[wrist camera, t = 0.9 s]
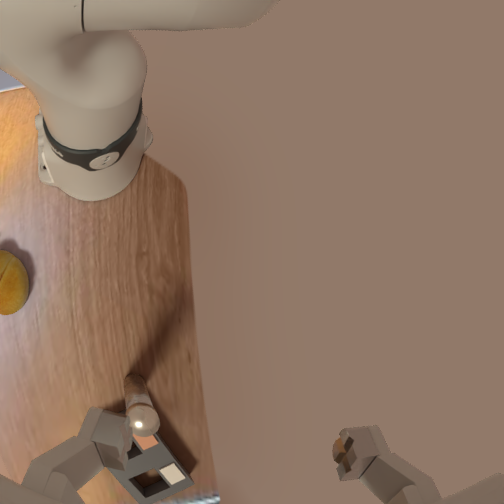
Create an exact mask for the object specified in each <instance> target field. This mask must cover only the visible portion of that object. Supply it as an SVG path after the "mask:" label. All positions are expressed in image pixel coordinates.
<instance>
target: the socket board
mask: <svg viewBox="0 0 504 504" xmlns="http://www.w3.org/2000/svg"><path fill="white" fill-rule="evenodd" d="M119 414H124V415H125V414H126V410H123V411H121V412H119ZM133 441H134V443H135V444H136V445H137V446H136V447H134V448H132V449H131V450H129V451H128V452H127V455H128V462H127V466H126V470H125V471H121V470H116V469H112V468H108V467H107V468H108V469H109V471H110V472H111V473H112V474H113V475H114V477H115V478H116V479H117V480H118V481H119V482H120V483H121V485H122V486H123V487H124V488H125V489H126V490H127V491H128V492H129V493H130V494H131V495H132V496H133V497H134V499H135V500H136V501H137V502H138V503H139V504H152V503H155V502H157V501H159V500H162V499H164V498H166V497H168V496H171V495H173V494H175V493H177V492H179V491H181V490H184V489H186V488H188V487H190V486H192V485H194V482H193V480H192V478H191V476H190V474H189V473H188V472H187V471H186V469H185V468H184V467H183V466H182V464H181V463H180V462H179V460H178V459H177V458H176V457H175V455H174V454H173V453H172V451H171V450H170V448H169V447H168V446H167V444H166V443H165V442H164V440H163V439H162V437H161V436H160V435H159V433H158V432H156V433H155V434H153V435H151V436H148V437H140V436H137V435H135V434H133ZM153 468H155V470H156V471H157V472H158V473H159V474H160V476H161V477H162V478H163V480H161V481H159V482H157V483H154V484H152V485H150V486H147V487H145V488H142V487H141V485H140V484H139V483H138V482H137V481H136V480H135V479H134V477H135V476H137V475H139V474H142V473H144V472H146V471H149V470H151V469H153Z"/></svg>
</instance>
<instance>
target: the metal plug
mask: <svg viewBox="0 0 504 504" xmlns="http://www.w3.org/2000/svg"><path fill="white" fill-rule="evenodd" d="M124 393H125V402H126V414H125V415H128V416H129V417H130V421H131V422H130V425H129V426H130V427H131V428H132V431H133V434H135V435H137V436H140V437H148V436H151V435H153V434H155V433H156V432H157V431H158V429H159V427H160V419H159V417H158V414H157V412H156V410H155V409H154V408H153V405H152V402H151V399H150V397H149V394H148V391H147V387H146V384H145V381H144V379H143V378H142V377H141V376H140V375H138V374H129V375H128V376H126V378H125V379H124Z"/></svg>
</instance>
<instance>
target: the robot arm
mask: <svg viewBox="0 0 504 504" xmlns="http://www.w3.org/2000/svg"><path fill="white" fill-rule="evenodd" d="M279 1H280V0H0V69H1V70H3V71H4V72H6V73H8V74H10V75H11V76H12V77H14V78H15V79H16V80H18V81H19V82H21V83H22V84H23V85H24V86H25V87H26V88H28V89H29V90H30V91H31V92H32V94H33V95H34V97H35V98H36V100H37V103H38V105H39V114H38V115H36V116H35V125H36V129H37V130H38V174H39V179H40V181H41V182H42V183H44V184H47V185H51V186H56V187H58V188H60V189H61V190H63V191H64V192H65V193H67V194H68V195H70V196H72V197H74V198H76V199H80V200H85V201H97V200H103V199H106V198H109V197H111V196H113V195H115V194H117V193H119V192H120V191H122V190H123V189H124V188H125V187H126V186H127V185H128V184H129V183H130V182H131V181H132V179H133V178H134V176H135V175H136V173H137V171H138V168H139V165H140V162H141V158H142V155H143V153H144V152H145V151H146V150H147V148H148V147H149V146H150V145H151V143H152V141H153V134H152V132H151V131H150V129H149V128H148V126H147V124H148V119H147V117H146V116H144V115H143V113H142V98H141V95H142V90H143V86H144V82H145V77H146V73H147V61H146V57H145V53H144V51H143V49H142V47H141V45H140V44H139V42H138V41H137V39H136V38H135V37H134V36H133V35H132V34H131V33H130V32H129V31H128V30H169V31H188V30H202V29H218V28H235V27H246V26H249V25H251V24H252V23H254V22H256V21H257V20H259V19H260V18H262V17H263V16H264V15H266V14H267V13H268V12H269V11H270V10H271V9H272V8H273V7H274V6H275V5H276V4H277V3H278V2H279ZM45 166H46V168H47V169H44V167H45ZM130 422H131V421H130V417H129V416H128V415H124V414H119V413H115V412H111V411H107V410H104V409H100V408H96V407H91V408H90V409H89V411H88V413H87V415H86V417H85V420H84V422H83V424H82V427H81V429H80V431H79V434H78V436H77V437H76V436H73V437H71V438H70V439H68V440H66V441H65V442H63V443H61V444H60V445H58V446H56V447H54V448H53V449H51V450H49V451H48V452H46V453H44V454H42V455H41V456H39V457H37V458H35V459H34V460H32V461H31V464H30V466H29V468H28V470H27V472H26V475H25V477H24V479H23V482H22V484H21V485H20V484H18V483H16V482H14V481H12V480H10V479H8V478H6V477H5V476H3V475H1V474H0V504H85V503H84V501H83V500H82V498H81V497H80V496H79V494H78V493H77V490H79V489H80V488H81V487H82V486H83V485H85V484H86V483H87V482H88V481H89V480H91V479H92V478H93V477H94V476H95V475H97V474H98V473H99V472H100V471H101V470H102V469H104V467H108V468H112V469H116V470H121V471H125V470H126V466H127V462H128V455H127V452H128V451H129V450H131V446H132V440H133V431H132V428H131V427H130V426H129V425H130ZM339 435H340V438H338V439H337V440H336V441H335V443H334V445H333V450H332V451H333V458H334V461H335V462H337V463H338V464H339V465H338V467H337V472H338V475H339V479H340V481H346V480H354V479H359V480H360V481H361V482H362V483H363V484H364V485H365V486H366V487H367V488H368V489H369V490H370V491H371V492H372V493H373V494H374V495H375V496H377V497H378V498H379V499H380V500H381V501H382V502H383V503H384V504H504V475H503V474H501V473H498V474H494V475H492V476H490V477H488V478H486V479H484V480H482V481H480V482H478V483H476V484H474V485H472V486H470V487H468V488H466V489H464V490H462V491H460V492H457V493H455V494H453V495H450V496H448V497H446V498H443V499H442V498H441V496H440V494H439V492H438V490H437V487H436V486H435V483H434V481H433V479H432V478H431V477H430V476H428V475H427V474H425V473H423V472H422V471H420V470H419V469H417V468H416V467H414V466H413V465H411V464H409V463H408V462H407V461H405V460H404V459H402V458H401V457H399V456H398V455H396V454H395V453H391V452H390V450H389V448H388V445H387V443H386V441H385V439H384V437H383V435H382V433H381V430H380V428H379V427H378V426H377V425H373V426H366V427H365V426H363V427H354V428H344V429H342V430H341V432H340V434H339Z"/></svg>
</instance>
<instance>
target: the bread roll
mask: <svg viewBox="0 0 504 504" xmlns="http://www.w3.org/2000/svg"><path fill="white" fill-rule="evenodd" d="M28 293H29V279H28V274H27V271H26V269H25V267H24V266H23V264H22V262H21V261H20V260H19V259H18V258H17V257H15V256H14V255H13V254H11V253H10V252H8V251H5V250H0V314H2V315H9V314H13V313H15V312H17V311H18V310H20V309H21V308H22V307H23V306H24V304H25V302H26V300H27V298H28Z"/></svg>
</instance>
